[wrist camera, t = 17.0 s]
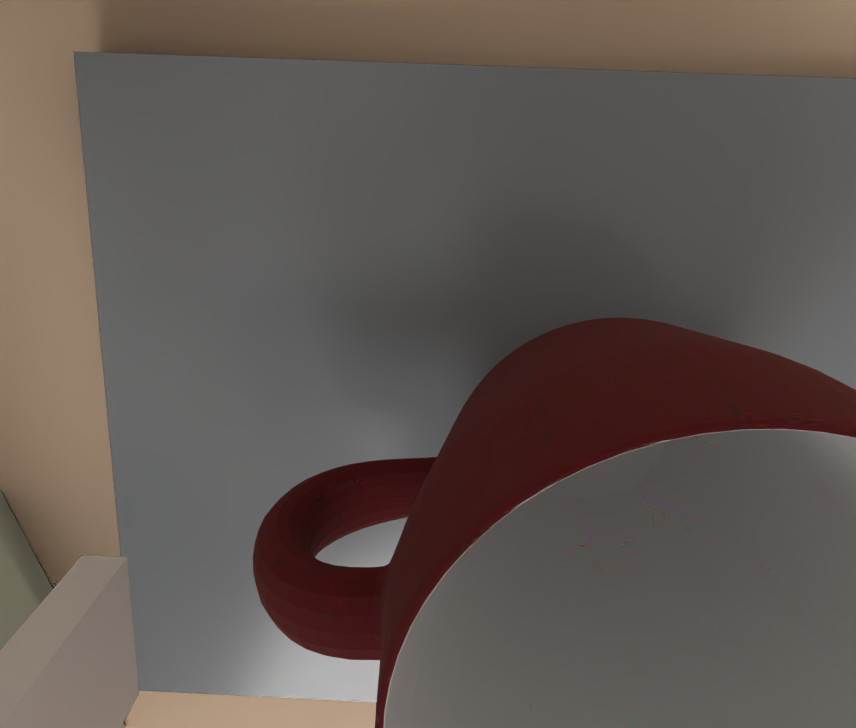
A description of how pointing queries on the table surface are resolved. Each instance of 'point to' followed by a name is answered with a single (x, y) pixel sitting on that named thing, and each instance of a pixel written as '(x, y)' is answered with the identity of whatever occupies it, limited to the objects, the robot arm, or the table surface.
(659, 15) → the table surface
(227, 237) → the slate board
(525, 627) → the mug
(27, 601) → the sage open box
